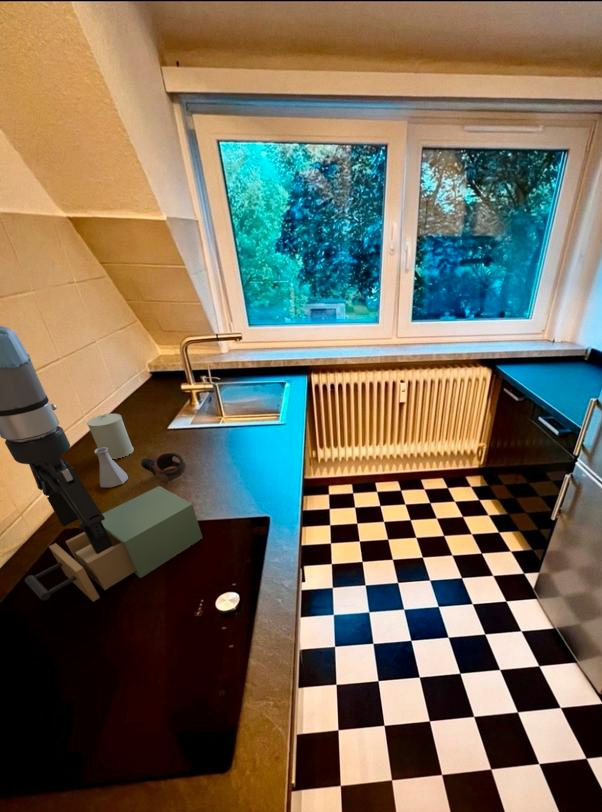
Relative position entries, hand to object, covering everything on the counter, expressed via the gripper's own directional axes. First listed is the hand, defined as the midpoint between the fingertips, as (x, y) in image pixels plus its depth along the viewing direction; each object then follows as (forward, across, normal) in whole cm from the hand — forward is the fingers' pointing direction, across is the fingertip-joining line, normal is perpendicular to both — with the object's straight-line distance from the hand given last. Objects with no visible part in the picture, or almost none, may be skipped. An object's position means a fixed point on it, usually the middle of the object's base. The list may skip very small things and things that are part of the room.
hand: (86, 535), depth 72 cm
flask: (+11, +35, -19) cm, 41 cm away
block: (+9, 0, 0) cm, 9 cm away
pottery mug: (+11, +25, -29) cm, 40 cm away
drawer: (+10, 0, +1) cm, 10 cm away
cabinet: (+11, 0, -11) cm, 15 cm away
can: (+11, +51, -28) cm, 59 cm away
